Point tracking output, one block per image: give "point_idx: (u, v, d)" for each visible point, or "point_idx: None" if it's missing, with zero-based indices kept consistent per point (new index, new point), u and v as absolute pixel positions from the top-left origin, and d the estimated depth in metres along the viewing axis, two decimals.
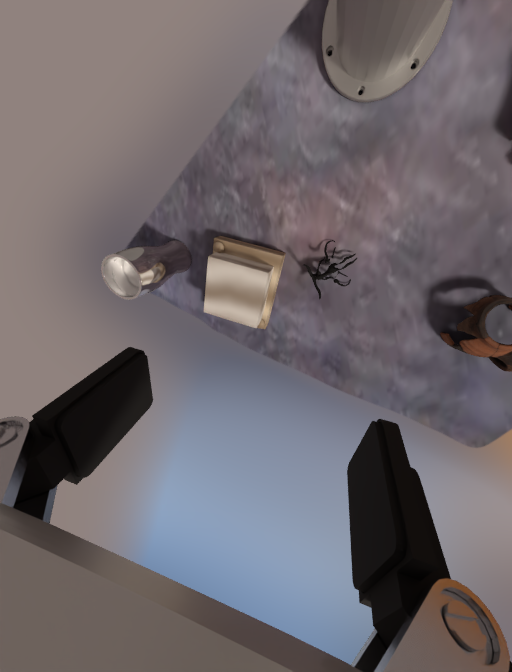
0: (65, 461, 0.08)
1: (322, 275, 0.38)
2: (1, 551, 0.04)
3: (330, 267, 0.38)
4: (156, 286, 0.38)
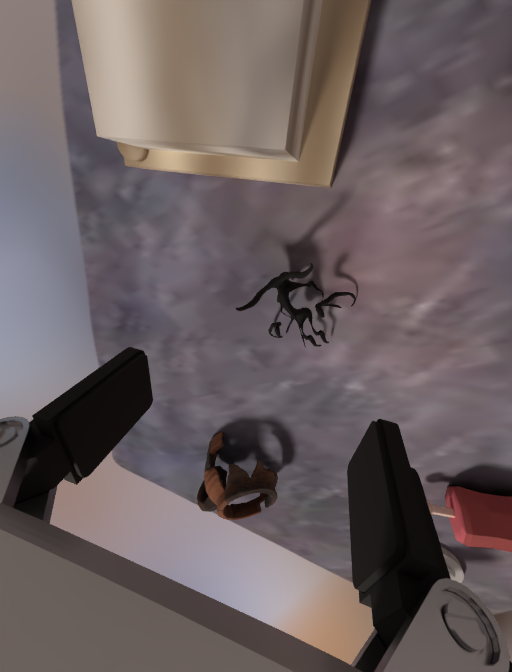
0: (65, 461, 0.08)
1: (288, 306, 0.17)
2: (1, 551, 0.04)
3: (304, 312, 0.19)
4: None
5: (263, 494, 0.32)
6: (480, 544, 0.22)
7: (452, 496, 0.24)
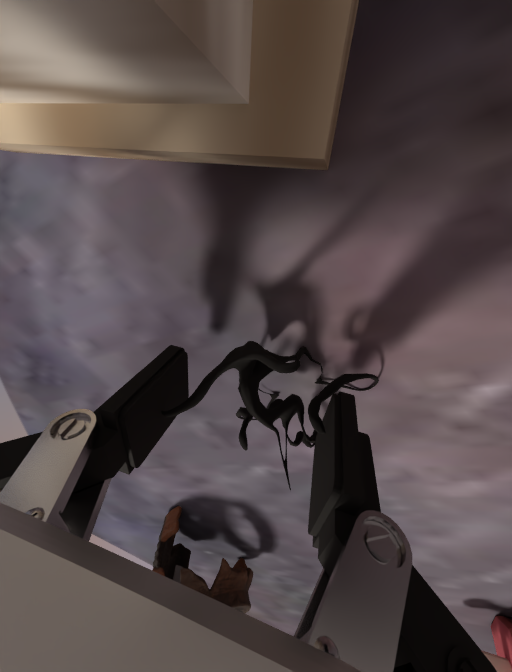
0: (123, 452, 0.08)
1: (256, 412, 0.09)
2: (1, 551, 0.04)
3: (289, 408, 0.11)
4: None
5: None
6: None
7: (508, 642, 0.16)
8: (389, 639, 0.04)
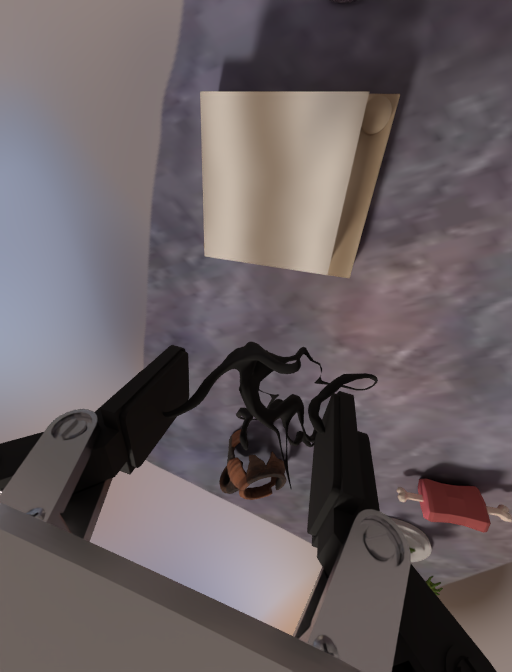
0: (124, 451, 0.08)
1: (257, 412, 0.09)
2: (1, 551, 0.04)
3: (289, 408, 0.11)
4: None
5: (273, 480, 0.39)
6: (439, 520, 0.30)
7: (422, 485, 0.32)
8: (388, 637, 0.04)
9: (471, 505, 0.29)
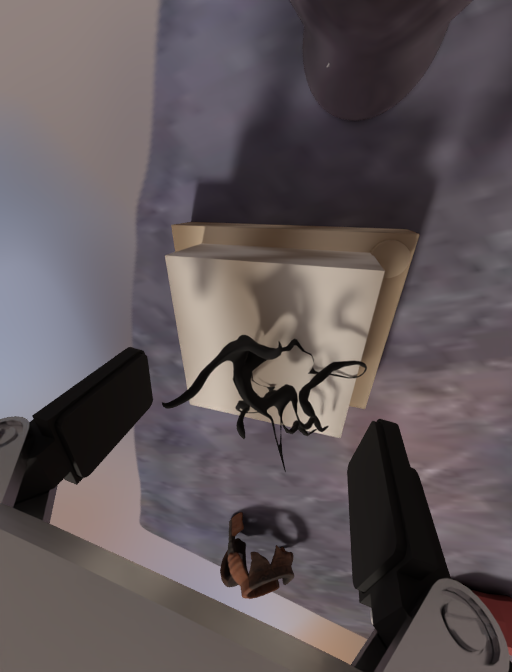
0: (65, 461, 0.08)
1: (250, 399, 0.10)
2: (1, 551, 0.04)
3: (282, 397, 0.11)
4: None
5: None
6: None
7: None
8: None
9: None
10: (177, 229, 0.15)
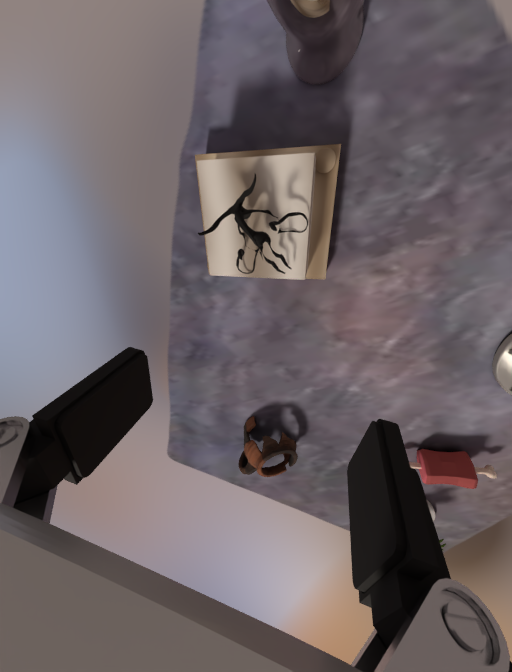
0: (65, 461, 0.08)
1: (243, 225, 0.19)
2: (1, 551, 0.04)
3: (261, 235, 0.20)
4: None
5: (286, 458, 0.44)
6: (436, 482, 0.35)
7: (419, 455, 0.37)
8: None
9: (461, 467, 0.34)
10: (198, 157, 0.24)
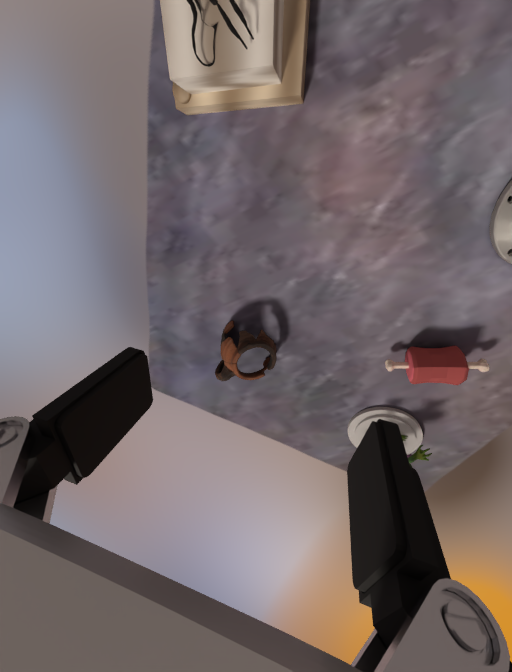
0: (65, 461, 0.08)
1: None
2: (1, 551, 0.04)
3: None
4: None
5: (266, 365, 0.41)
6: (423, 376, 0.32)
7: (407, 353, 0.35)
8: None
9: (451, 357, 0.31)
10: None
